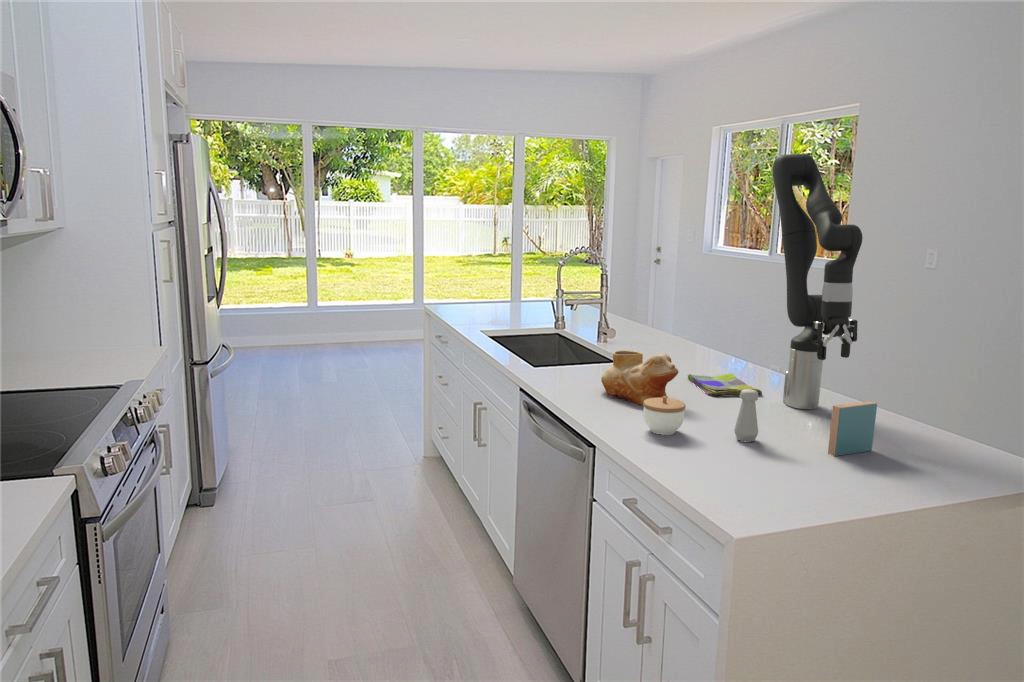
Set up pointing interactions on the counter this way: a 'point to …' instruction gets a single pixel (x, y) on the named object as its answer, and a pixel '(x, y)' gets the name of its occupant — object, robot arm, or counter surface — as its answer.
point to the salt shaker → (747, 417)
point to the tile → (852, 428)
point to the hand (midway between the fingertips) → (833, 358)
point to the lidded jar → (663, 414)
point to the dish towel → (720, 384)
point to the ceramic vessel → (638, 376)
